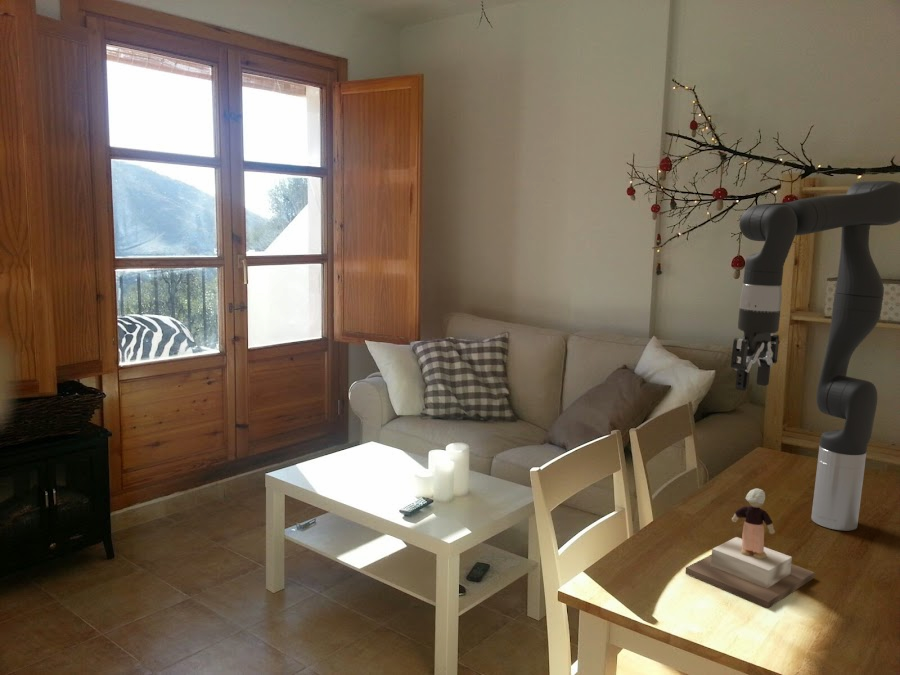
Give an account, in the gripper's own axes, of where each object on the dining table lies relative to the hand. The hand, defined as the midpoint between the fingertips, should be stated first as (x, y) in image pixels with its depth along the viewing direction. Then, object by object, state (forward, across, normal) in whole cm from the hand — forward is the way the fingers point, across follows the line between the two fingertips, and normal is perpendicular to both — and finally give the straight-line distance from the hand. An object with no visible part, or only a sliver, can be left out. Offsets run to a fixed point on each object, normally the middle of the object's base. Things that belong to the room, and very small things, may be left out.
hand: (752, 387), depth 149 cm
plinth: (+33, -12, -9) cm, 36 cm away
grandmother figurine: (+29, -12, -9) cm, 33 cm away
